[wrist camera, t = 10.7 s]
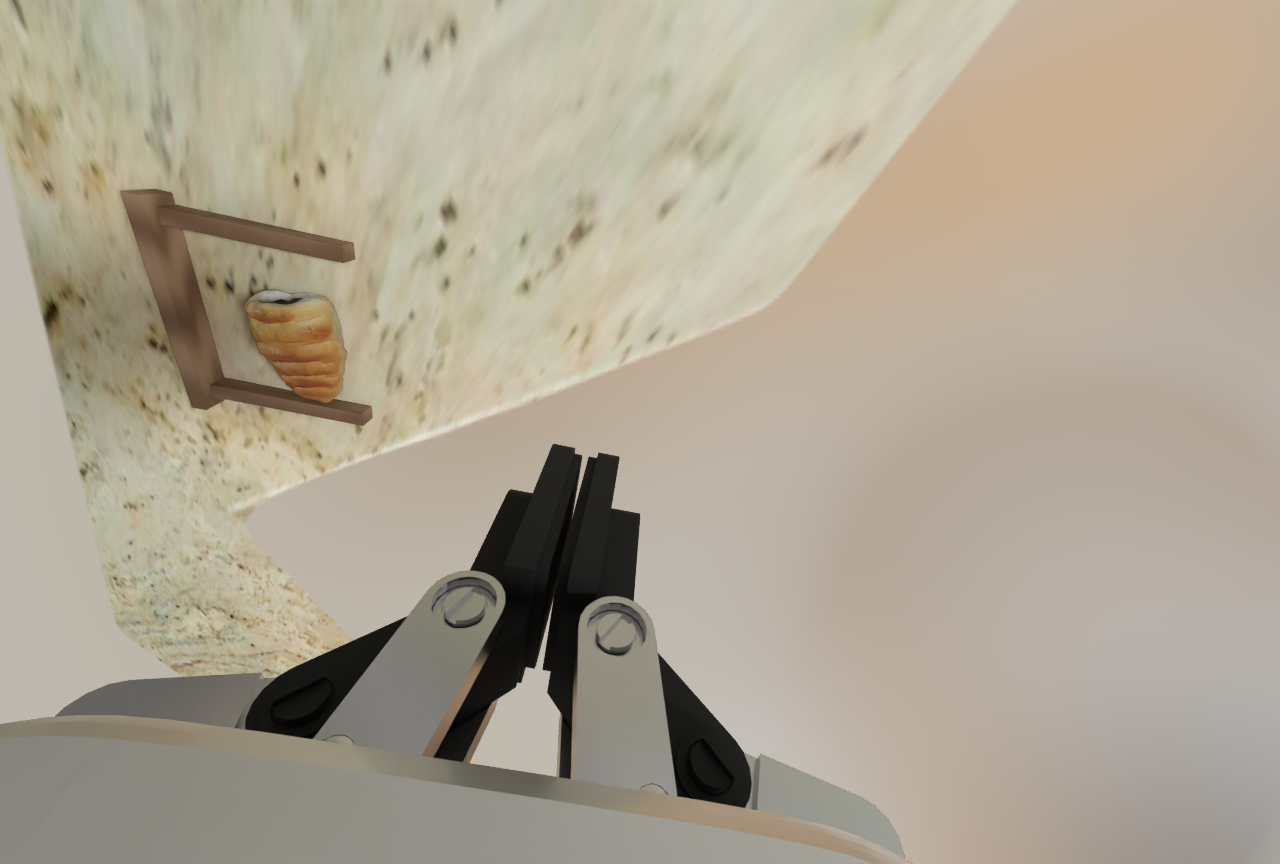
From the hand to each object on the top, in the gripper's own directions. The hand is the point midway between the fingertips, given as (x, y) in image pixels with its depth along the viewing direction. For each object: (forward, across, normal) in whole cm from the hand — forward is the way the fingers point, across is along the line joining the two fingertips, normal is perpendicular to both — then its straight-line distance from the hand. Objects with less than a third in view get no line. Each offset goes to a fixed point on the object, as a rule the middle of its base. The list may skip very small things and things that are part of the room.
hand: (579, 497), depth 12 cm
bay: (+27, +28, +10) cm, 40 cm away
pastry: (+28, +26, +11) cm, 39 cm away
